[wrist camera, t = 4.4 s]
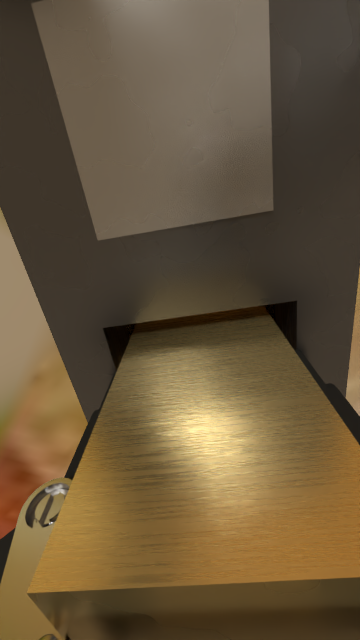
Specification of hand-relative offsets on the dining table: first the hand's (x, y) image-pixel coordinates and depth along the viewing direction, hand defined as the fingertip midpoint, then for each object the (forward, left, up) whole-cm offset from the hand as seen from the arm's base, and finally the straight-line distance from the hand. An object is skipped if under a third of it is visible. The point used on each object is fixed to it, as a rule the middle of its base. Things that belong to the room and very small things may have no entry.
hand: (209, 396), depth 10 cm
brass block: (0, 0, -3) cm, 3 cm away
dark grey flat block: (0, 0, -3) cm, 3 cm away
